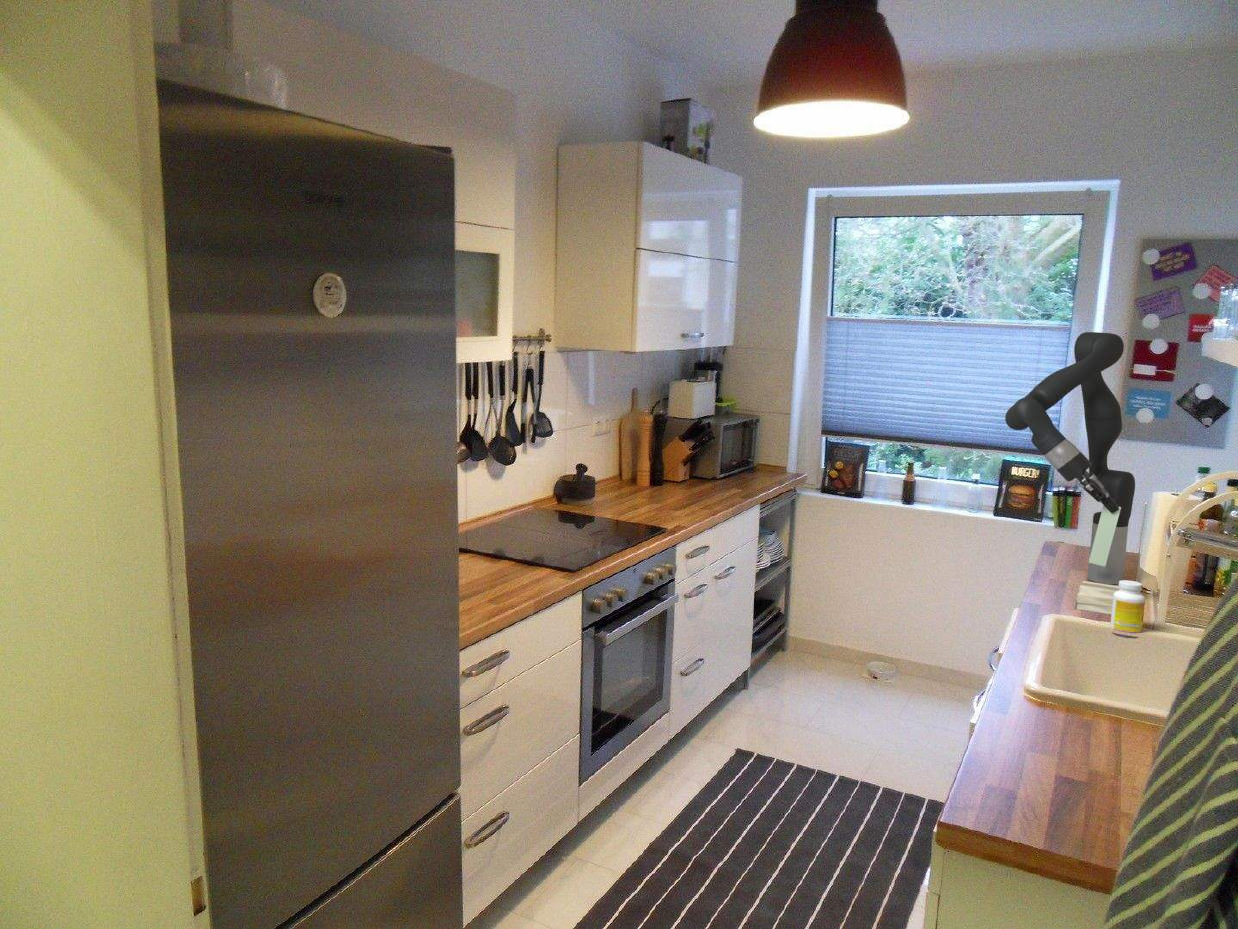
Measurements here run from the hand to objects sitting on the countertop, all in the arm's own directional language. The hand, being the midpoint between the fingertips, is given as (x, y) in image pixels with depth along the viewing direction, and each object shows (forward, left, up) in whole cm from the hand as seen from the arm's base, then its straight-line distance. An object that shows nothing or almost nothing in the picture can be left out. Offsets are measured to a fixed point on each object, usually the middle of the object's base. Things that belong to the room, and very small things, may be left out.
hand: (1115, 510), depth 226 cm
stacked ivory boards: (+3, -2, -27) cm, 27 cm away
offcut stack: (+7, -2, -25) cm, 26 cm away
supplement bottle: (+22, +5, -27) cm, 35 cm away
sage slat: (0, -3, -15) cm, 15 cm away
